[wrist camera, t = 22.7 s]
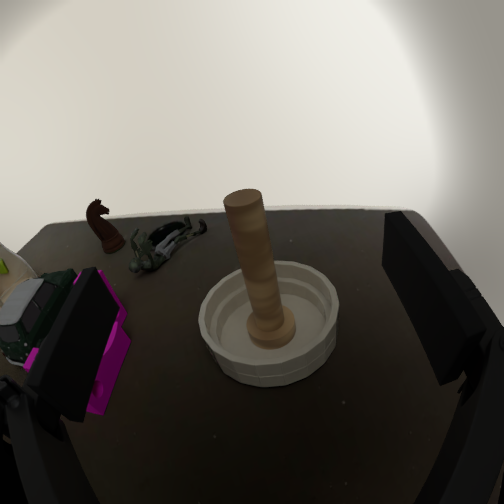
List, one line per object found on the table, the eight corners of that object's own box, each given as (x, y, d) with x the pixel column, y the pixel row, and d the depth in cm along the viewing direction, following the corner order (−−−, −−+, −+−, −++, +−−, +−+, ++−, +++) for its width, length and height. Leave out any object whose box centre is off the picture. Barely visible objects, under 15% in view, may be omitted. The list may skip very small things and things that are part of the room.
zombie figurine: (198, 195, 46) (127, 251, 37) (208, 231, 50) (146, 289, 41) (175, 193, 49) (107, 244, 40) (186, 226, 53) (126, 279, 44)
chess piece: (129, 241, 53) (109, 194, 48) (111, 257, 50) (88, 209, 44) (116, 238, 56) (96, 194, 50) (98, 253, 52) (76, 208, 46)
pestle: (285, 307, 32) (262, 178, 24) (303, 339, 28) (285, 199, 20) (244, 322, 32) (205, 195, 23) (257, 356, 28) (215, 221, 19)
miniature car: (90, 286, 44) (67, 246, 39) (46, 376, 29) (8, 335, 25) (55, 290, 45) (32, 255, 40) (11, 370, 30) (-22, 333, 26)
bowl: (305, 277, 36) (302, 247, 34) (361, 356, 26) (365, 327, 23) (202, 312, 35) (190, 284, 32) (227, 408, 24) (213, 385, 22)
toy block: (103, 415, 24) (59, 376, 20) (64, 405, 25) (22, 367, 21) (142, 313, 36) (117, 268, 32) (106, 313, 38) (80, 272, 33)
